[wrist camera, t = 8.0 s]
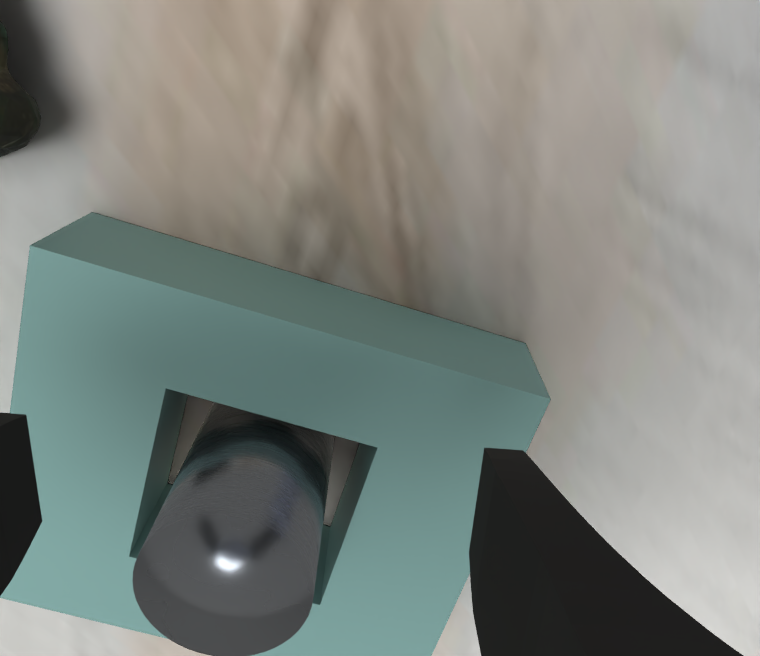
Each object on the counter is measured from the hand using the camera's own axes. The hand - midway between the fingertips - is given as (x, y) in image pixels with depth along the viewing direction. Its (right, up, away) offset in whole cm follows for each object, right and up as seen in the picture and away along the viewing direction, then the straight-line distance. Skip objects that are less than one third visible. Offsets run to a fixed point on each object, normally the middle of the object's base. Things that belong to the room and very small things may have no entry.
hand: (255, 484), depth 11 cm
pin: (-1, -1, +11) cm, 11 cm away
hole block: (-2, -1, +11) cm, 11 cm away
